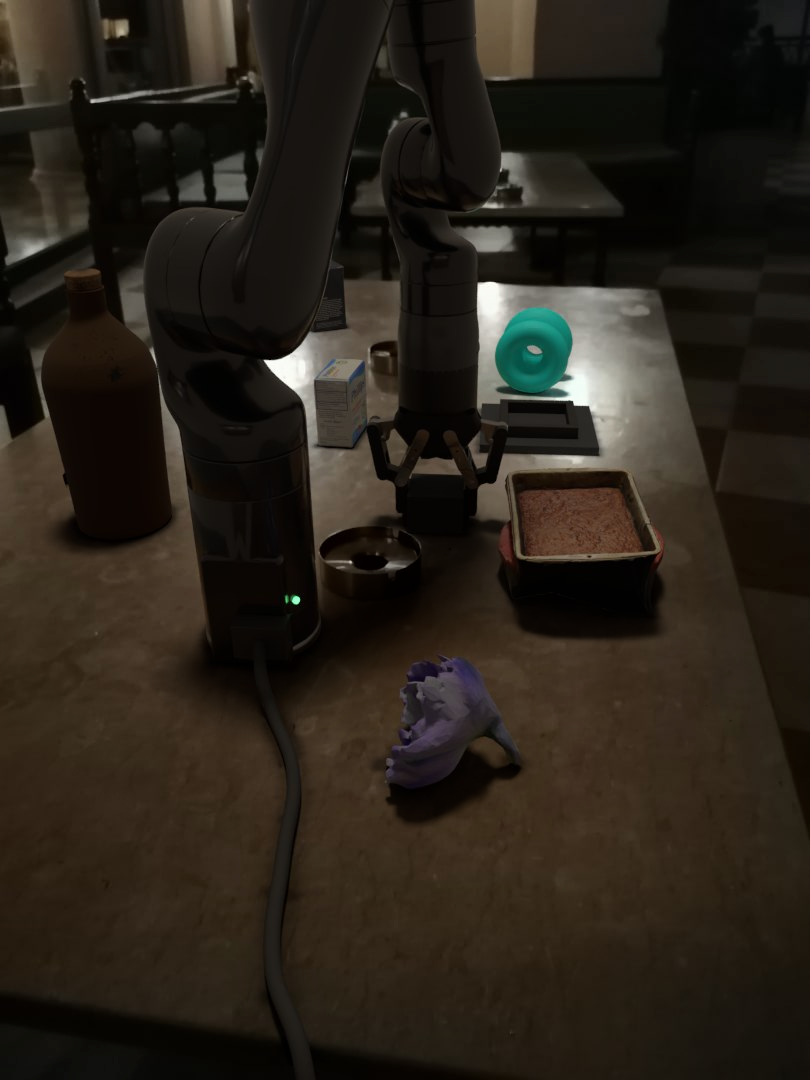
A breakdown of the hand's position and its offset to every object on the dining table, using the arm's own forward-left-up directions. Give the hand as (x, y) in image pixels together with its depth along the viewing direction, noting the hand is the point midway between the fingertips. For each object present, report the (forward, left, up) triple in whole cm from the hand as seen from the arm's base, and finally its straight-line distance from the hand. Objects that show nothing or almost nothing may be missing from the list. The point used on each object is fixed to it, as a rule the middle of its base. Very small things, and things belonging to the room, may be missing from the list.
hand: (436, 516), depth 92 cm
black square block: (0, 0, 0) cm, 0 cm away
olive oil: (-2, +32, -1) cm, 32 cm away
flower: (-35, -3, -1) cm, 35 cm away
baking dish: (-10, -13, -1) cm, 17 cm away
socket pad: (+25, -11, 0) cm, 27 cm away
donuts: (+43, -11, -1) cm, 44 cm away
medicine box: (+22, +13, -1) cm, 26 cm away
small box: (+73, +25, -1) cm, 77 cm away
